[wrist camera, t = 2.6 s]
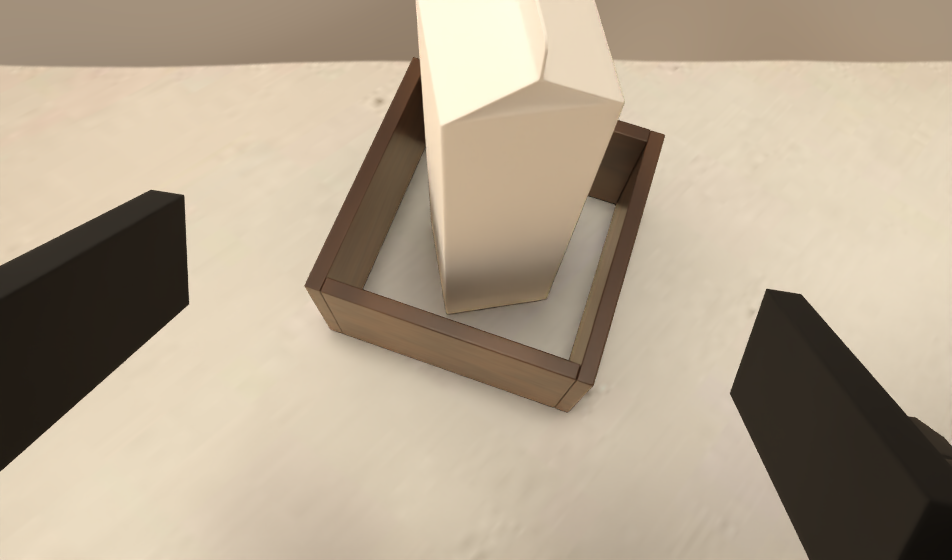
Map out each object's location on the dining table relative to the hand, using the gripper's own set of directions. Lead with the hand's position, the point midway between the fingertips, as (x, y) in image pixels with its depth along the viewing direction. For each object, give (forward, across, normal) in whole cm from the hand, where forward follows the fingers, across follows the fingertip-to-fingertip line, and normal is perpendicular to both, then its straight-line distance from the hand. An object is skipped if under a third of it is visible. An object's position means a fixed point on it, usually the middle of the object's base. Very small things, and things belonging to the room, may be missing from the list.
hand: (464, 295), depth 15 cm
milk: (+23, 0, -8) cm, 24 cm away
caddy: (+23, 0, -8) cm, 24 cm away
